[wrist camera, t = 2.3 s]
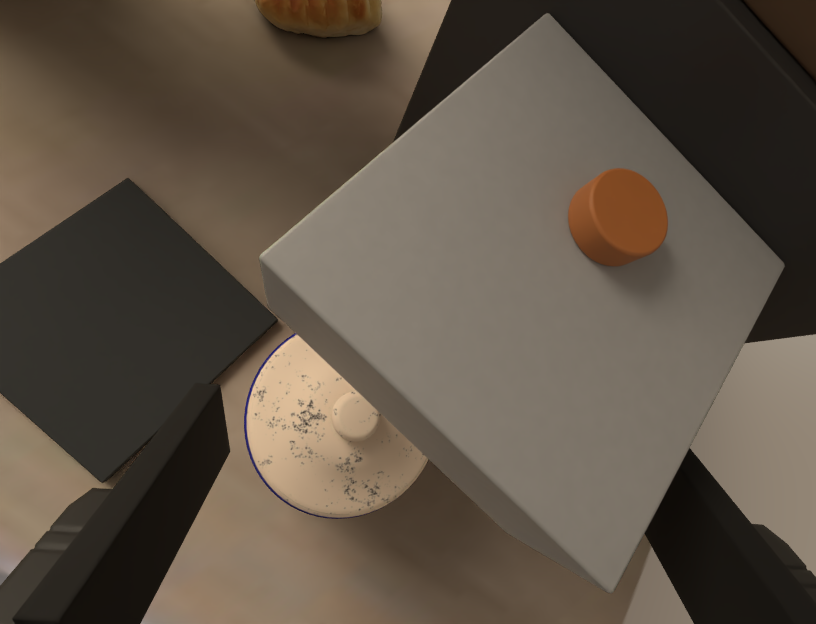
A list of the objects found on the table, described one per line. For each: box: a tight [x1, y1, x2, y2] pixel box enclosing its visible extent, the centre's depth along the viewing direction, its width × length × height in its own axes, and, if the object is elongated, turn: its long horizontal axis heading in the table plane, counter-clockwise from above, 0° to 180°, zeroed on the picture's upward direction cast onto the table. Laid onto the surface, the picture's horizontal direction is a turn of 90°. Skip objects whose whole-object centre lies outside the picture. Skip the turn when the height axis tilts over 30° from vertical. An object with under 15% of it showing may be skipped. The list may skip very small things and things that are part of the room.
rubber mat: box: [0, 178, 278, 483], centre depth 25 cm, size 13×13×1 cm
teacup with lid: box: [244, 333, 428, 519], centre depth 23 cm, size 12×9×12 cm
